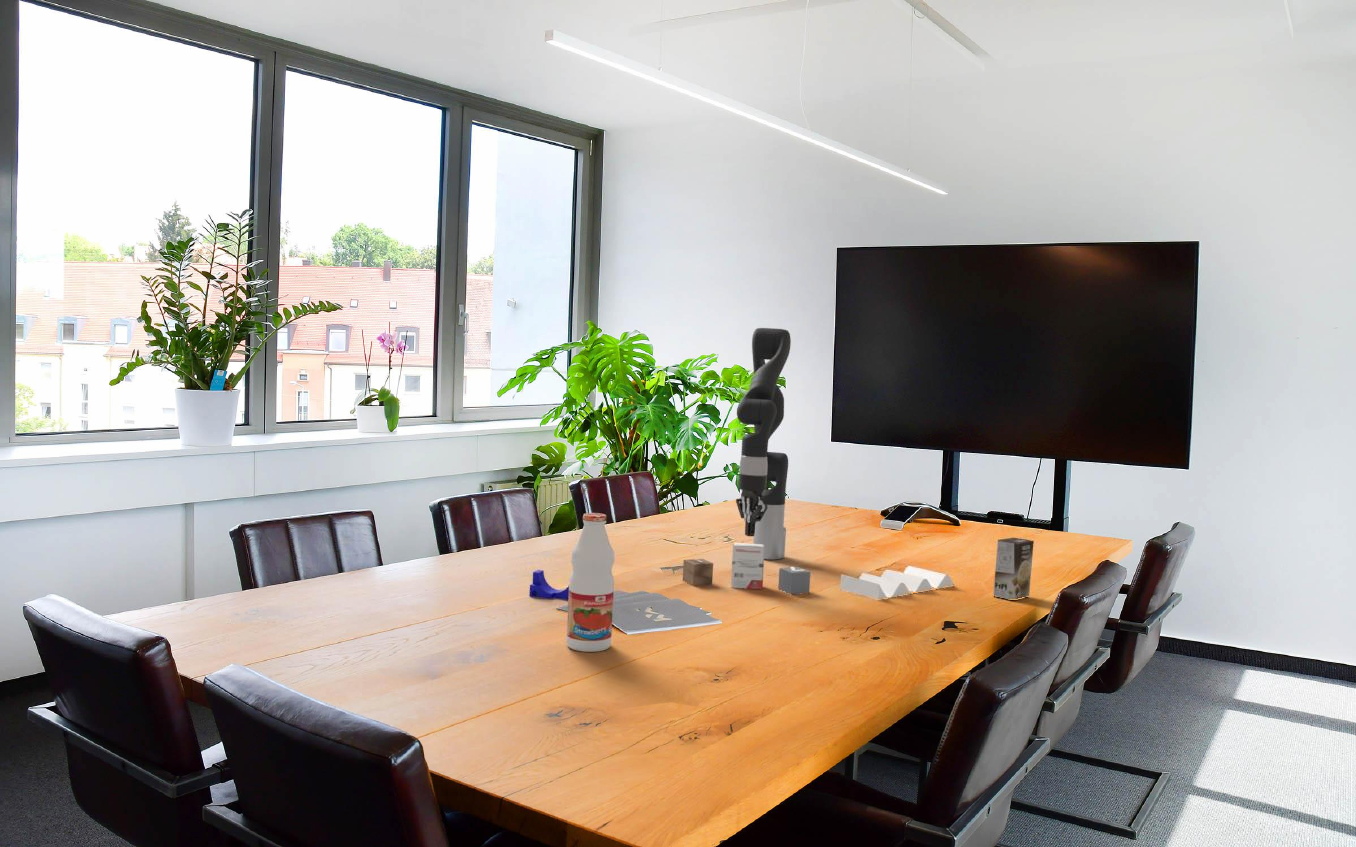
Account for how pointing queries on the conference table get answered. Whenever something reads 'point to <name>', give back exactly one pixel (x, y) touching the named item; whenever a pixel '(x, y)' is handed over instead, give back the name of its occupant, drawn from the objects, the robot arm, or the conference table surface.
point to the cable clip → (545, 588)
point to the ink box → (747, 566)
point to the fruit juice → (591, 588)
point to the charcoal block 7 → (794, 580)
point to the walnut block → (697, 572)
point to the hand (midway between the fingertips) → (749, 535)
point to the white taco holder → (895, 582)
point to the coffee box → (1013, 568)
